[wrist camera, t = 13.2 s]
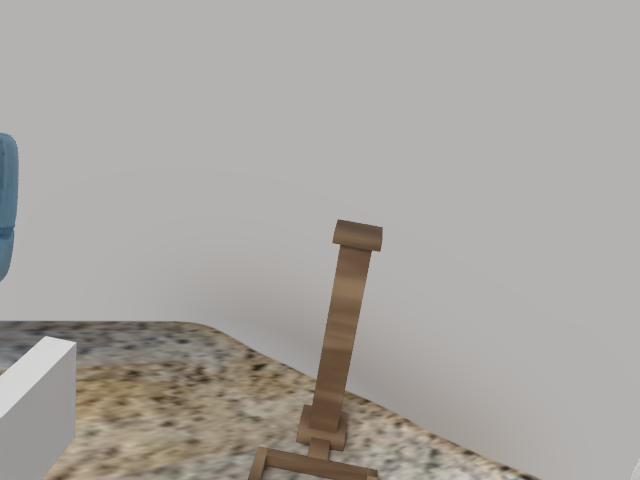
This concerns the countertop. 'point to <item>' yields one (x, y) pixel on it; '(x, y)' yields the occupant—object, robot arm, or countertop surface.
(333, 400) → the wooden headphone stand
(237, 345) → the countertop surface
